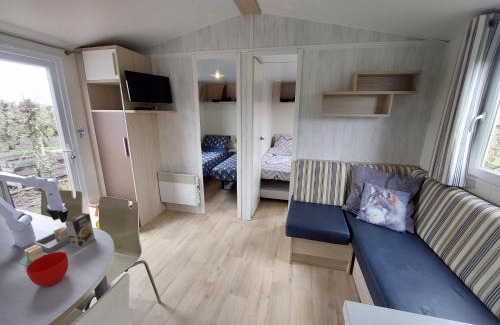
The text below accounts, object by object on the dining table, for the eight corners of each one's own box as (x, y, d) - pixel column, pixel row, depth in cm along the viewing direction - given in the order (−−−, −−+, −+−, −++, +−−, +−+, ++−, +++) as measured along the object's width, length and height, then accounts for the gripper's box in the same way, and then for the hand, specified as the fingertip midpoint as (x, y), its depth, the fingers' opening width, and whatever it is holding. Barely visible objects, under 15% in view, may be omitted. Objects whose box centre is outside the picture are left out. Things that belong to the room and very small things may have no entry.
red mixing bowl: (66, 261, 105) (61, 244, 102) (75, 279, 94) (70, 260, 92) (29, 277, 95) (22, 259, 93) (35, 298, 85) (28, 278, 82)
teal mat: (18, 263, 104) (18, 262, 104) (41, 251, 112) (41, 251, 112) (29, 268, 101) (29, 267, 101) (52, 256, 109) (51, 255, 109)
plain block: (56, 240, 121) (53, 230, 119) (65, 235, 125) (63, 226, 124) (61, 241, 119) (58, 232, 118) (70, 237, 124) (68, 228, 122)
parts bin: (34, 247, 116) (33, 242, 115) (63, 233, 128) (62, 228, 128) (50, 253, 111) (48, 248, 110) (79, 237, 124) (78, 233, 123)
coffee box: (80, 248, 114) (73, 222, 110) (70, 247, 116) (63, 220, 111) (95, 238, 123) (89, 213, 119) (86, 237, 124) (80, 212, 120)
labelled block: (27, 260, 105) (24, 250, 103) (39, 254, 109) (36, 244, 108) (32, 262, 103) (29, 252, 102) (44, 256, 108) (41, 246, 106)
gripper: (70, 198, 122) (75, 219, 125) (54, 194, 127) (60, 215, 130) (55, 203, 115) (61, 225, 119) (40, 199, 120) (46, 221, 124)
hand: (60, 220), depth 124 cm, fingers open, 7 cm apart
